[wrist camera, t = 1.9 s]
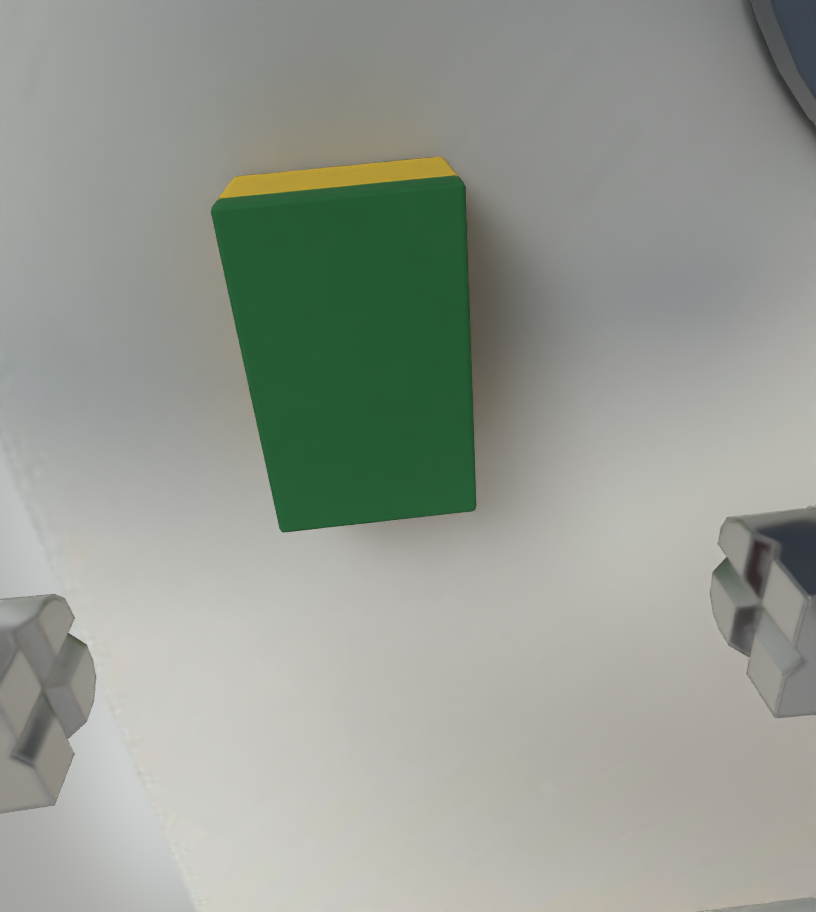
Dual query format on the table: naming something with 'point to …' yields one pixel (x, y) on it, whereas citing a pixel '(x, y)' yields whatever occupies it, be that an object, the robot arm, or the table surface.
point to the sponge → (355, 337)
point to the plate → (792, 45)
